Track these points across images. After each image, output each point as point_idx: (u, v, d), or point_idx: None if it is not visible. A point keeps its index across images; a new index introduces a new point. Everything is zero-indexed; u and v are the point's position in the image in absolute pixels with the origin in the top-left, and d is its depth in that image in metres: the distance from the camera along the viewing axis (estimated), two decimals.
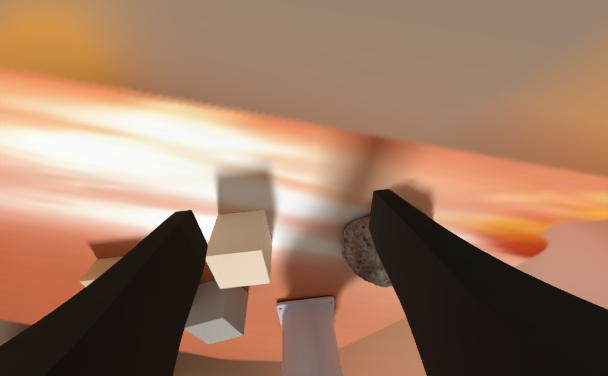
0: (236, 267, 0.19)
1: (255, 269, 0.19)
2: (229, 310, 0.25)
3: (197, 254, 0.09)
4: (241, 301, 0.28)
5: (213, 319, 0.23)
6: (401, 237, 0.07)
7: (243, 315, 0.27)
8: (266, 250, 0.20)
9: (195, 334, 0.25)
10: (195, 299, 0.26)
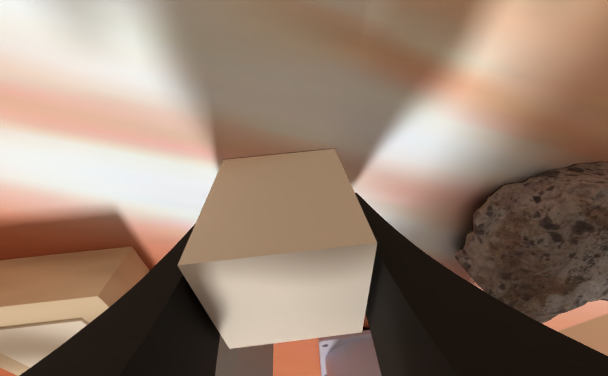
0: (283, 296, 0.06)
1: (335, 300, 0.06)
2: (245, 368, 0.12)
3: None
4: None
5: None
6: None
7: (269, 368, 0.14)
8: None
9: None
10: None
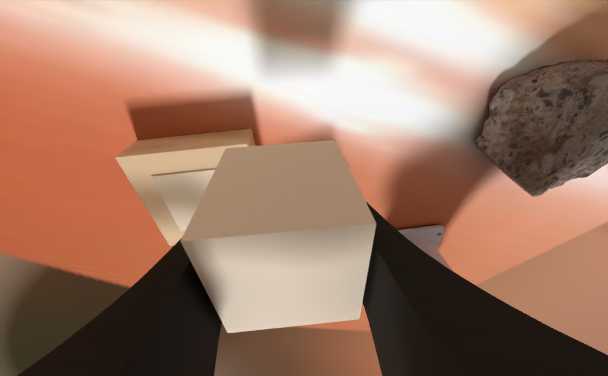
0: (283, 277, 0.06)
1: (333, 283, 0.07)
2: None
3: None
4: None
5: None
6: None
7: None
8: None
9: None
10: None
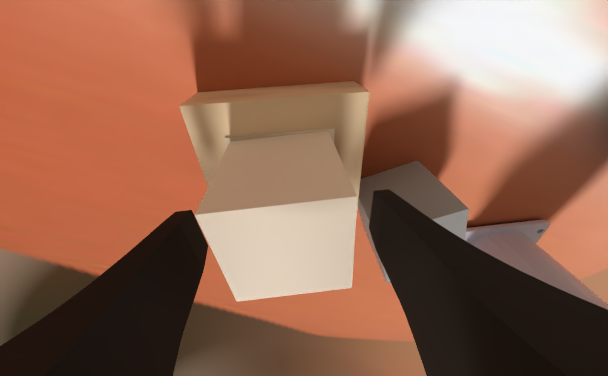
0: (281, 247, 0.07)
1: (325, 252, 0.08)
2: None
3: (197, 254, 0.09)
4: None
5: (445, 214, 0.11)
6: (401, 237, 0.07)
7: None
8: None
9: None
10: (365, 197, 0.14)
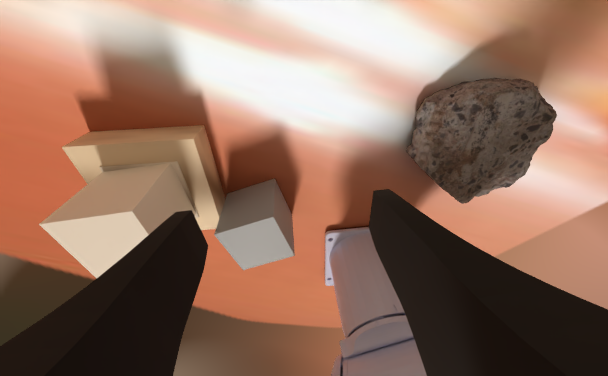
0: (104, 241, 0.12)
1: (136, 244, 0.12)
2: (278, 214, 0.17)
3: (197, 254, 0.09)
4: (287, 216, 0.20)
5: (259, 220, 0.16)
6: (401, 237, 0.07)
7: (291, 233, 0.20)
8: (162, 218, 0.14)
9: (229, 248, 0.17)
10: (227, 206, 0.19)
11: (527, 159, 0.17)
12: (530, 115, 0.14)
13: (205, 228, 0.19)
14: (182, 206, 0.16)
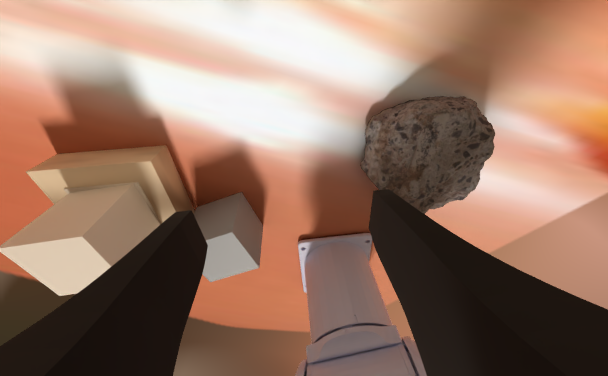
0: (61, 263, 0.13)
1: (92, 265, 0.13)
2: (241, 228, 0.18)
3: (197, 254, 0.09)
4: (255, 229, 0.21)
5: (219, 235, 0.17)
6: (401, 237, 0.07)
7: (258, 245, 0.20)
8: (120, 239, 0.14)
9: None
10: None
11: (474, 174, 0.17)
12: (467, 135, 0.15)
13: None
14: (146, 224, 0.17)
